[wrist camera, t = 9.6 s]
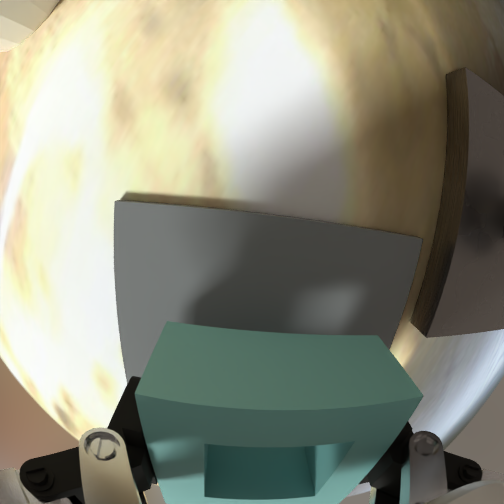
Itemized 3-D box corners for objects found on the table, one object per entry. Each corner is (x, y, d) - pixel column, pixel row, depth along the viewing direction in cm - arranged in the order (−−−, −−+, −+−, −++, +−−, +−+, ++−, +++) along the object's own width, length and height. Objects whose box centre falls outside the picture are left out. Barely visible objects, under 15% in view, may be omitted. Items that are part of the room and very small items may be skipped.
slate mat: (119, 200, 9) (114, 201, 9) (418, 237, 10) (423, 239, 10) (138, 421, 12) (137, 426, 12) (344, 433, 13) (345, 437, 13)
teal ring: (167, 321, 7) (134, 393, 4) (377, 335, 8) (423, 395, 5) (175, 445, 9) (165, 502, 6) (324, 450, 9) (338, 503, 7)
